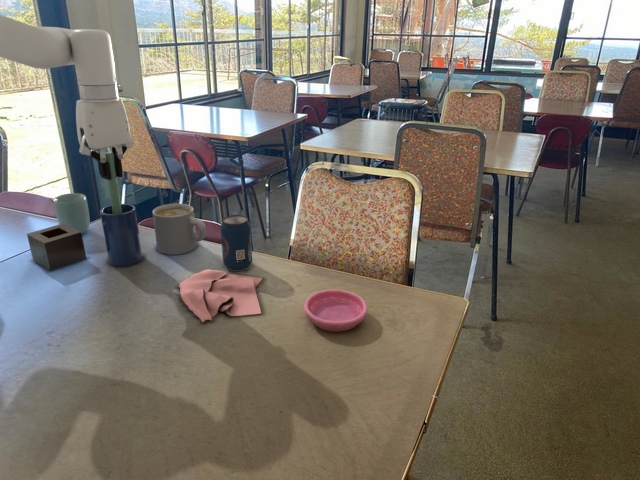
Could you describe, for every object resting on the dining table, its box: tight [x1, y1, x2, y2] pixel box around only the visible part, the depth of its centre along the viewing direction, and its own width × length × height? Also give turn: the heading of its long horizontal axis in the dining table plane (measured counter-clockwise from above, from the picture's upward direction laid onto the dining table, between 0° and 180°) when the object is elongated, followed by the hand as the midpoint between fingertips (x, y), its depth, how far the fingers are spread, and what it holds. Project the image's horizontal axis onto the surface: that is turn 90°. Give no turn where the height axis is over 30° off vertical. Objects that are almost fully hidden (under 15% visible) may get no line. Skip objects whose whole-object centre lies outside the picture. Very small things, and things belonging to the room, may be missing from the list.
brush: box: [105, 151, 122, 214], centre depth 110 cm, size 3×3×20 cm
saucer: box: [303, 289, 369, 333], centre depth 94 cm, size 12×12×3 cm
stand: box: [26, 224, 87, 272], centre depth 115 cm, size 9×9×7 cm
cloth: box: [178, 268, 263, 323], centre depth 101 cm, size 20×22×2 cm
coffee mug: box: [152, 203, 207, 255], centre depth 122 cm, size 13×10×10 cm
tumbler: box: [99, 203, 143, 267], centre depth 114 cm, size 8×8×13 cm
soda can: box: [220, 214, 253, 272], centre depth 113 cm, size 7×7×12 cm
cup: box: [52, 192, 91, 234], centre depth 129 cm, size 8×8×10 cm
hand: (111, 176), depth 109 cm, fingers closed on brush, 2 cm apart
